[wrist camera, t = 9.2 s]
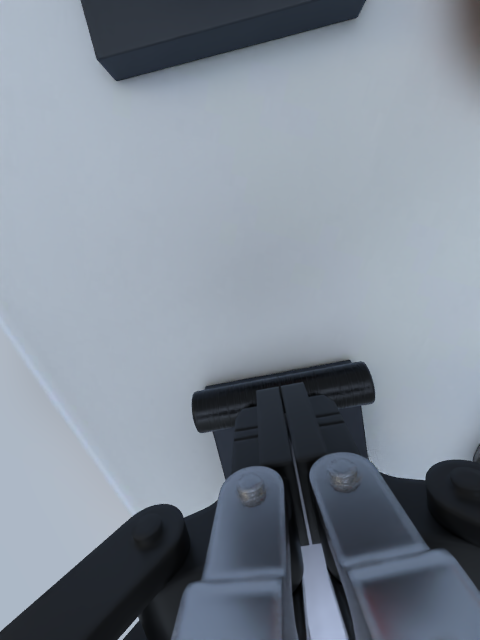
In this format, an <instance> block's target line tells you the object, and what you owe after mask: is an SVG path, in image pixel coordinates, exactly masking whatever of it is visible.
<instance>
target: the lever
mask: <svg viewBox="0 0 480 640" xmlns="http://www.w3.org/2000/svg"><path fill="white" fill-rule="evenodd" d="M301 382H303V383H304V386H305V388H306V391H307V394H308V397H312V396H318V395H325V396H327V397H328V398H330V399H331V400H333V401H334V402H335V404H336V406H337V408H338V410H339V409H345V408H350V407H356V406H362V405H368V404H372V403H373V402H374V401H375V389H374V384H373V380H372V376H371V374H370V371H369V369H368V367H367V366H366V364H365V363H364V362H361V361H360V362H354V363H349V364H343V365H338V366H332V367H327V368H322V369H316V370H311V371H305V372H300V373H294V374H289V375H283V376H278V377H272V378H267V379H261V380H256V381H251V382H245V383H240V384H234V385H229V386H223V387H218V388H212V389H207V390H201V391H196V392H195V393H194V394H193V397H192V414H193V420H194V423H195V426H196V428H197V430H198V432H200V433H206V432H211V431H217V430H223V429H229V428H235V419H236V418H237V416H238V415H239V413H240V412H241V410H242V409H245V408H251V407H256V406H257V397H256V391H257V390H262V389H268V388H273V387H279V391H280V396H281V401H282V406H283V411H284V416H285V421H286V426H287V431H288V436H289V441H290V446H291V452H292V457H293V462H294V467H295V472H296V478H297V483H298V488H299V493H300V498H301V504H302V509H303V514H304V519H305V524H306V530H307V535H308V540H309V545H308V546H301V551H302V557H303V563H304V572H303V578H304V583H305V593H306V605H307V617H308V629H309V640H347V638H346V635H345V632H344V628H343V625H342V622H341V618H340V615H339V612H338V609H337V605H336V602H335V599H334V595H333V592H332V589H331V586H330V582H329V578H328V573H327V568H326V562H325V558H324V553H323V549H322V545H321V543H320V544H313V545H312V540H311V535H310V530H309V525H308V520H307V515H306V510H305V505H304V501H303V496H302V491H301V486H300V481H299V476H298V471H297V466H296V461H295V456H294V451H293V446H292V441H291V436H290V431H289V426H288V421H287V416H286V411H285V406H284V401H283V396H282V391H281V386H284V385H290V384H295V383H301Z"/></svg>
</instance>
